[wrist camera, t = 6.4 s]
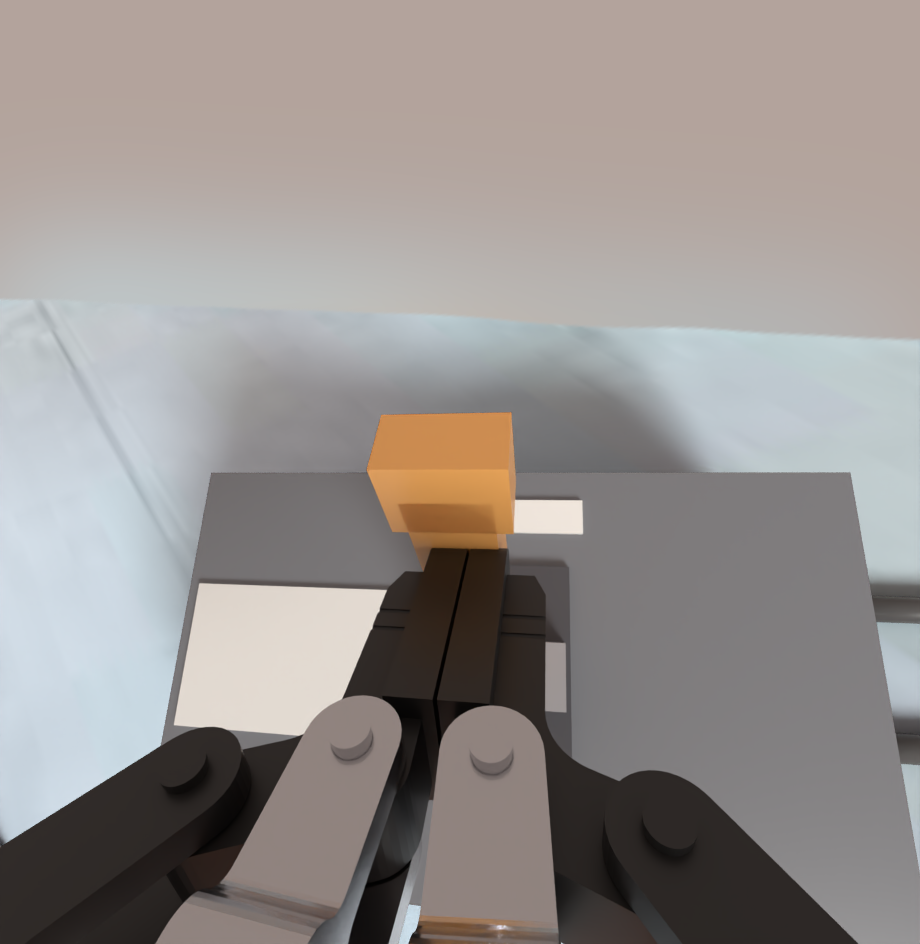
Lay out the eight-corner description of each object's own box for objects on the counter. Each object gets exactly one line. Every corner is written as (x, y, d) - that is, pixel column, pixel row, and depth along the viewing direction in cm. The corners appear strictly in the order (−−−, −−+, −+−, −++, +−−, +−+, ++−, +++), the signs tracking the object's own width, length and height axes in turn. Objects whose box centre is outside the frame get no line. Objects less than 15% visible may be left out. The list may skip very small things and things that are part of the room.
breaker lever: (459, 694, 17) (366, 470, 8) (463, 658, 18) (381, 414, 9) (527, 698, 17) (508, 469, 8) (527, 661, 17) (511, 412, 8)
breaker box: (279, 784, 27) (105, 887, 16) (312, 520, 31) (189, 462, 20) (1180, 875, 21) (1854, 1136, 10) (1080, 531, 25) (1489, 457, 14)
